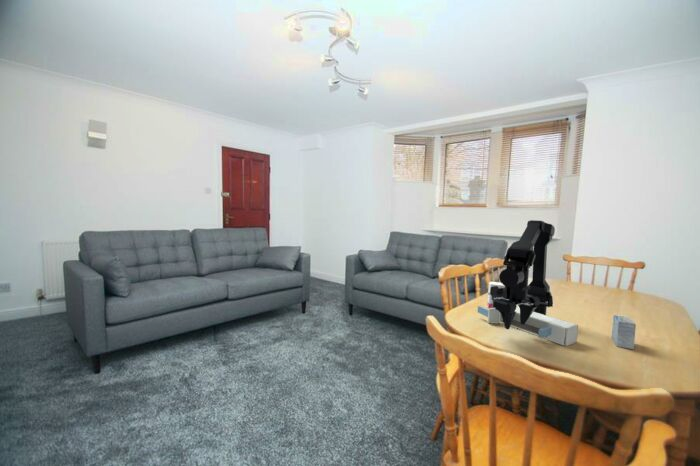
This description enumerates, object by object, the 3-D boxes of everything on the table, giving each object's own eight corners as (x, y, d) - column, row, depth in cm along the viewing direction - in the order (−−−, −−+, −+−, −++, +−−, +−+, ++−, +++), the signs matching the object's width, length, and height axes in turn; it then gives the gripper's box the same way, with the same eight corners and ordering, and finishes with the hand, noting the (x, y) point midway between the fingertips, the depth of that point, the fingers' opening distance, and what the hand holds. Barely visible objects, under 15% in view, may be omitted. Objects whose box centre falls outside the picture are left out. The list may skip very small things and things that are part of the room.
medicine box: (633, 350, 97) (636, 324, 97) (615, 346, 100) (618, 321, 99) (627, 341, 104) (630, 317, 103) (611, 338, 106) (613, 314, 106)
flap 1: (499, 322, 118) (500, 308, 118) (488, 323, 117) (489, 308, 116) (487, 316, 124) (487, 302, 124) (476, 317, 123) (477, 303, 123)
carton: (508, 318, 123) (510, 304, 122) (576, 342, 102) (578, 324, 102) (498, 321, 119) (499, 306, 119) (566, 346, 99) (568, 328, 98)
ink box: (488, 309, 134) (490, 283, 133) (487, 306, 139) (488, 281, 138) (509, 312, 132) (511, 285, 131) (507, 308, 136) (509, 283, 136)
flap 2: (547, 339, 103) (549, 323, 103) (564, 345, 99) (565, 328, 98) (537, 343, 100) (538, 326, 99) (553, 349, 96) (555, 331, 95)
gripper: (511, 275, 114) (508, 315, 115) (480, 279, 105) (477, 323, 106) (542, 281, 105) (538, 325, 106) (511, 287, 95) (507, 334, 96)
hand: (514, 326), depth 104 cm, fingers open, 9 cm apart
